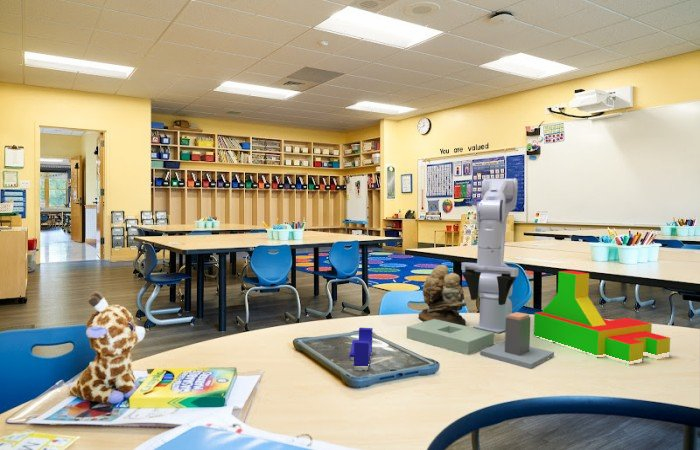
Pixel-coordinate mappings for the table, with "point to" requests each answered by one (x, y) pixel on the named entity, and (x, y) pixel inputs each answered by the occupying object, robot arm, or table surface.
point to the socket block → (451, 336)
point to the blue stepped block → (362, 347)
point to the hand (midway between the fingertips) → (487, 301)
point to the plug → (517, 333)
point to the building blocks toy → (593, 324)
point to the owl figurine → (443, 297)
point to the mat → (524, 360)
